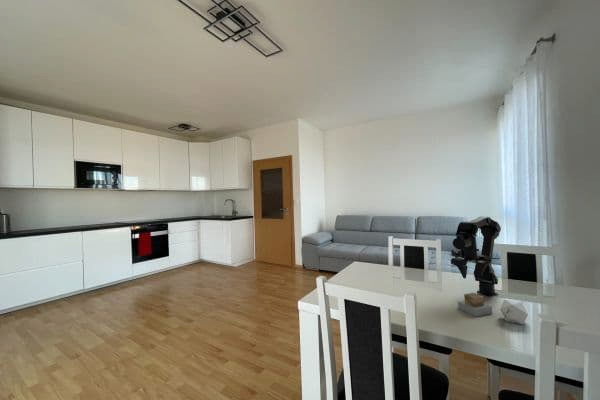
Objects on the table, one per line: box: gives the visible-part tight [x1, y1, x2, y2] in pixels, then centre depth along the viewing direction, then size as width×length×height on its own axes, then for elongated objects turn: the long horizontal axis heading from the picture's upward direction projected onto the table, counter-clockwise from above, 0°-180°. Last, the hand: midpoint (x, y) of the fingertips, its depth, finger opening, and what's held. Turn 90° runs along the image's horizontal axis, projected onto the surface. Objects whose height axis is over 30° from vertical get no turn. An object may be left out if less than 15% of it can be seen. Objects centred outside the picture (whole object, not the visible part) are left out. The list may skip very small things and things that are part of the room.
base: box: [457, 299, 493, 317], centre depth 107 cm, size 9×9×3 cm
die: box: [499, 299, 529, 325], centre depth 96 cm, size 8×9×10 cm
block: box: [463, 292, 485, 307], centre depth 107 cm, size 5×5×4 cm
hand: (472, 277), depth 116 cm, fingers open, 9 cm apart
